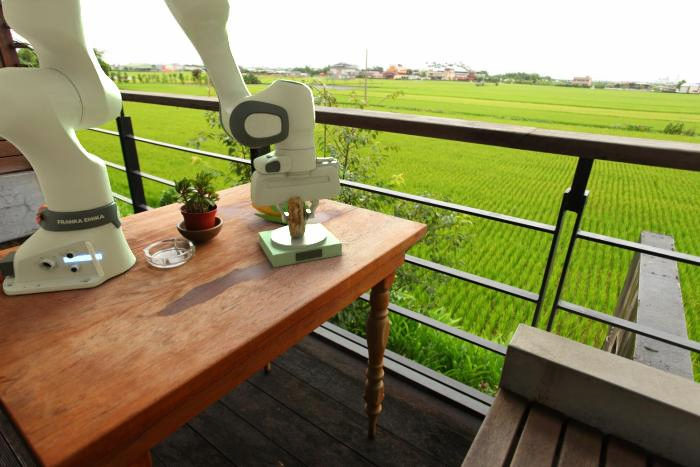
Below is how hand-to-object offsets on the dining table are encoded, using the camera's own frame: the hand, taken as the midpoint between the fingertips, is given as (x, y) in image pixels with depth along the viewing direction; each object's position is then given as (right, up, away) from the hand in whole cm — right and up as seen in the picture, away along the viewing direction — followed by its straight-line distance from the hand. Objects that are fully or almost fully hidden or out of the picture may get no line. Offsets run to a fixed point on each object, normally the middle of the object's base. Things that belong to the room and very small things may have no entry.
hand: (298, 219), depth 89 cm
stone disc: (0, -4, +1) cm, 4 cm away
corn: (-8, 0, +21) cm, 22 cm away
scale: (0, -7, +3) cm, 8 cm away
